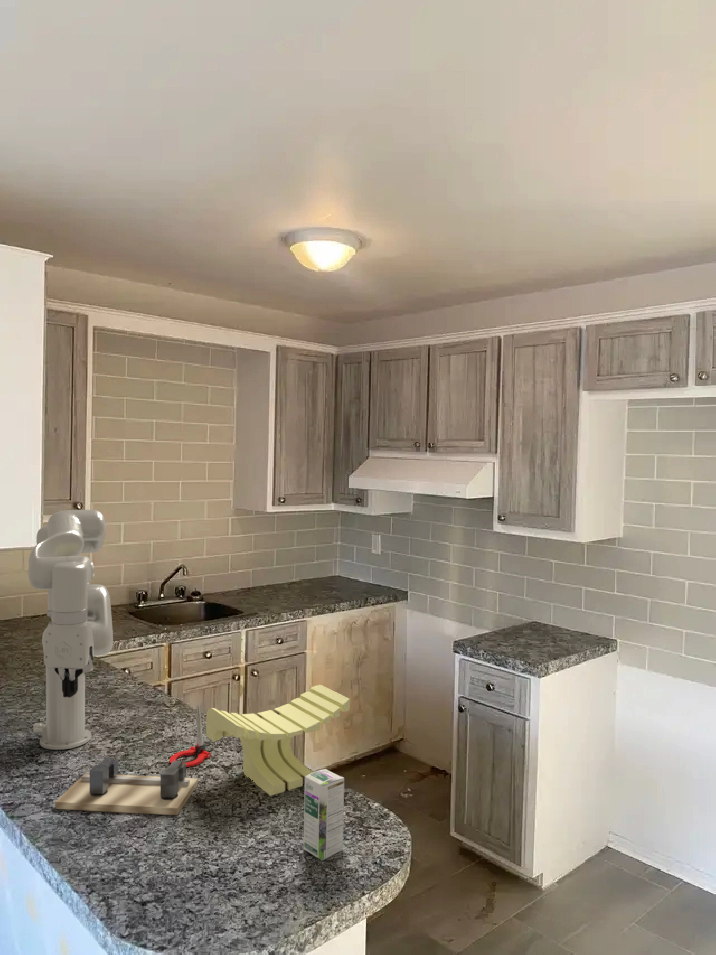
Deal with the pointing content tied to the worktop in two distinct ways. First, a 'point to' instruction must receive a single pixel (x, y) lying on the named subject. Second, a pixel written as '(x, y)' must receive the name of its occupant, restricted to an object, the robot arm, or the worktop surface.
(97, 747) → the worktop surface
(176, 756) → the tow hook
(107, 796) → the bolt plate
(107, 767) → the leg
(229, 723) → the slatted curved stool
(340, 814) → the syrup box
